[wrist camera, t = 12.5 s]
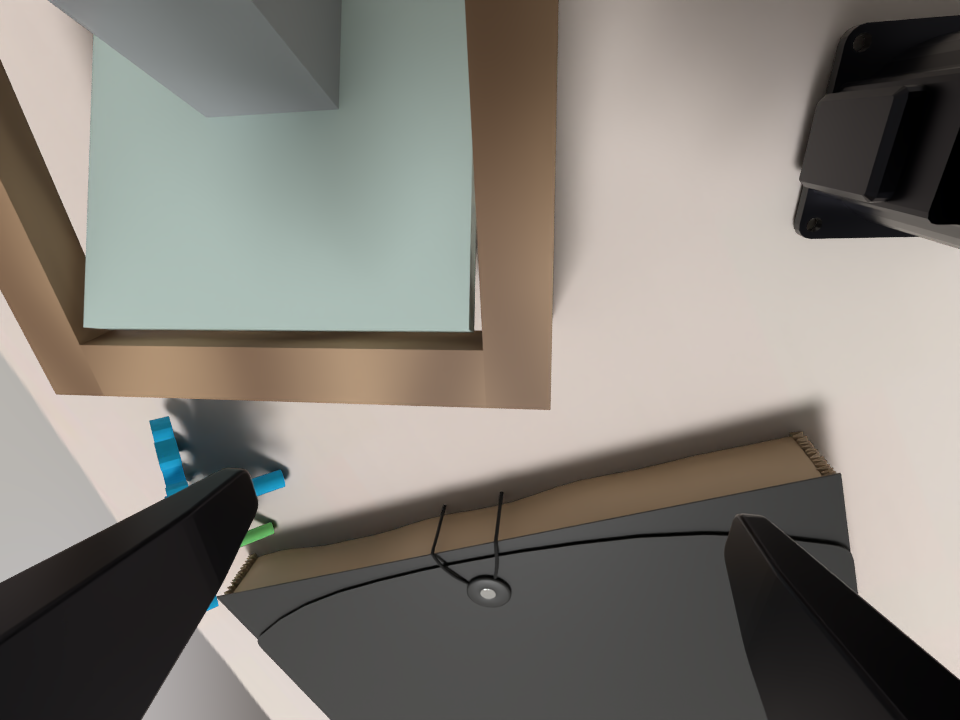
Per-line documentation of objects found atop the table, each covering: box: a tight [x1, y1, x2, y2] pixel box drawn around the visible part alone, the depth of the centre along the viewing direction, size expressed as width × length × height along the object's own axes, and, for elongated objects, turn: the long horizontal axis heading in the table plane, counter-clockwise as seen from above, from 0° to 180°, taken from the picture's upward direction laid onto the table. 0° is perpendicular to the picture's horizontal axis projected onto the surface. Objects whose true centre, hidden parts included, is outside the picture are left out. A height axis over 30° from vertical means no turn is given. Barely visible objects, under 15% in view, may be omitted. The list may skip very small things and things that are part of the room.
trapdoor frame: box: [0, 0, 559, 410], centre depth 15 cm, size 18×18×7 cm
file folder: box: [217, 432, 858, 720], centre depth 29 cm, size 33×4×24 cm
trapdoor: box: [83, 0, 476, 333], centre depth 15 cm, size 13×13×1 cm
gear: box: [150, 416, 285, 611], centre depth 25 cm, size 11×6×10 cm
